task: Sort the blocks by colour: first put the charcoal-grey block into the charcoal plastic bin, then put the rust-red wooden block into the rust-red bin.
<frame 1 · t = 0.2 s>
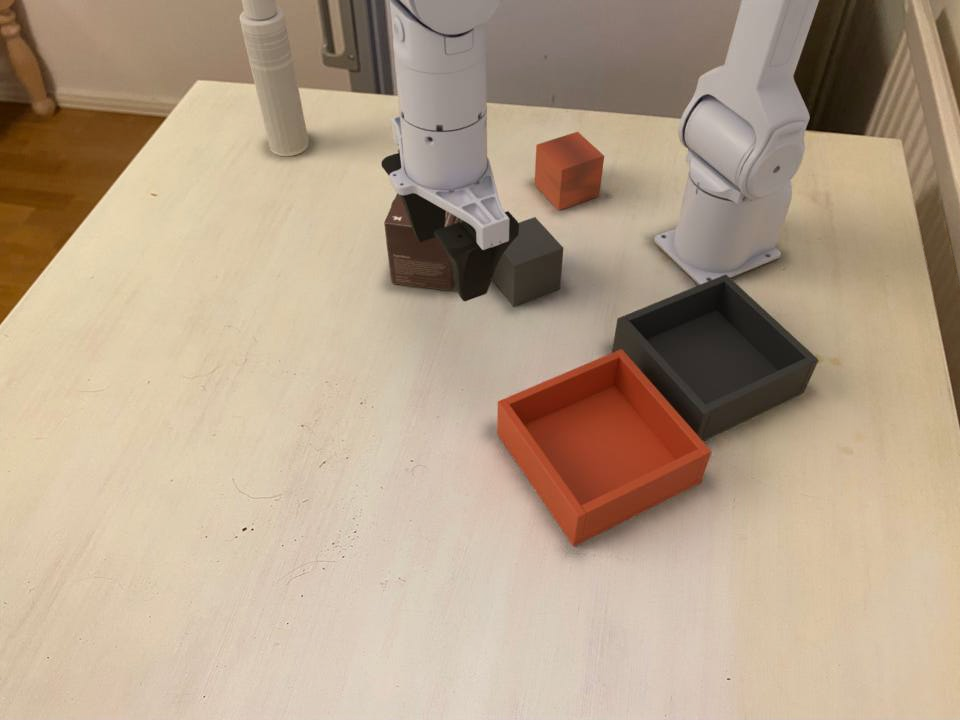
hand: (450, 264, 63), 10 cm above the table, tool pointing down, fingers open, 7 cm apart
charcoal bin: (705, 371, 69), on the table
rust bin: (596, 457, 63), on the table
red block: (566, 190, 86), on the table
box: (428, 269, 78), on the table
bottle: (289, 147, 92), on the table
grey block: (523, 281, 76), on the table
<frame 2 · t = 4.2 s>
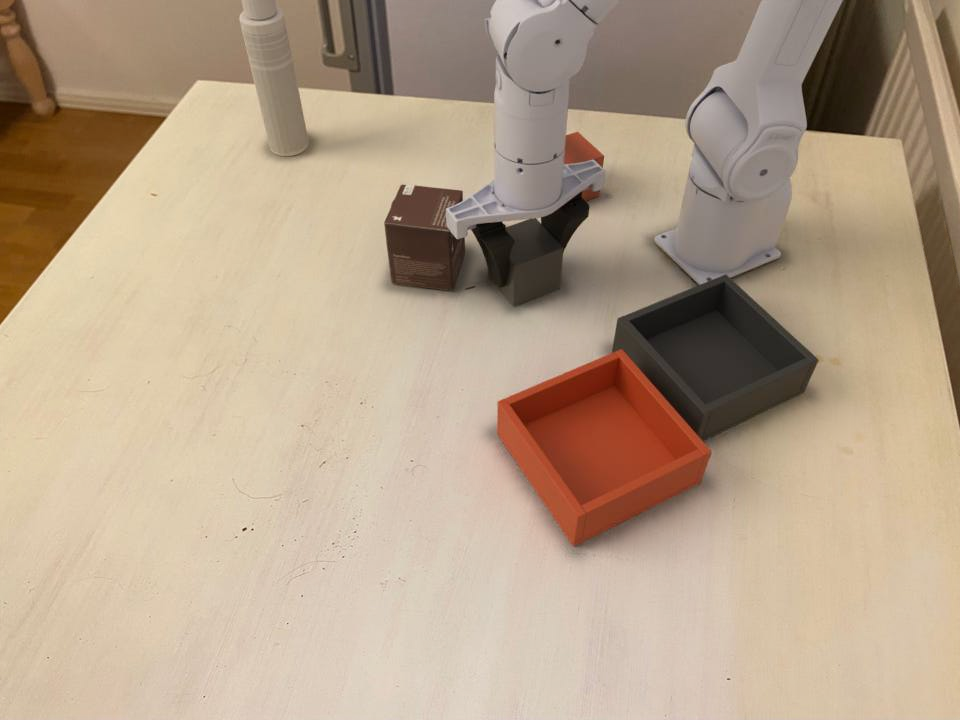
hand: (524, 270, 75), 1 cm above the table, tool pointing down, fingers closed on grey block, 5 cm apart
grey block: (523, 281, 76), on the table, touching gripper
everything else where it was.
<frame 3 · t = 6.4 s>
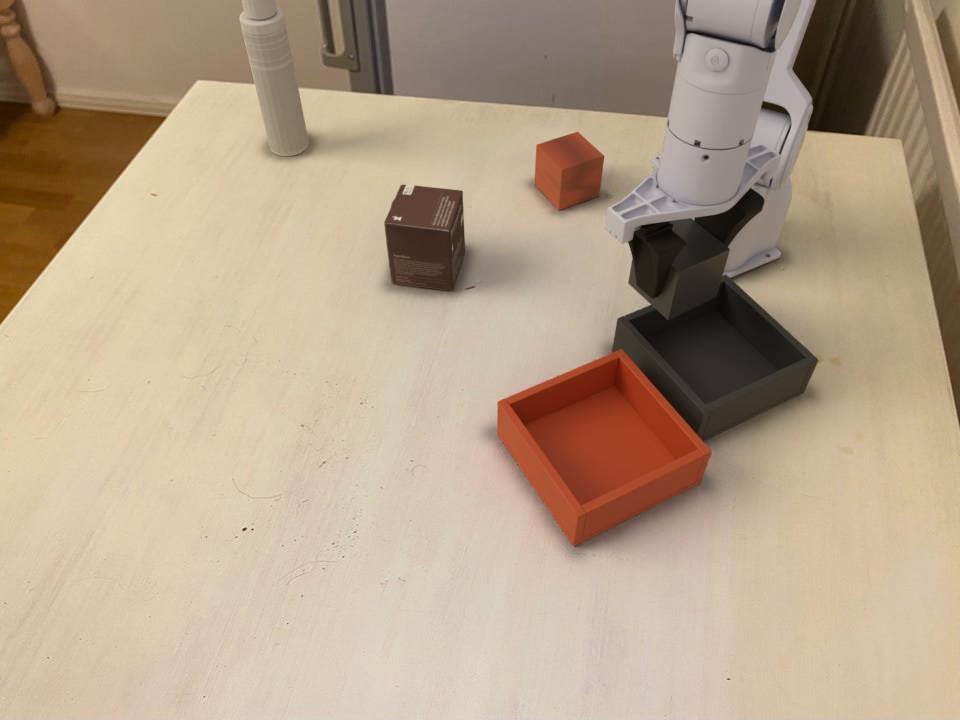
hand: (675, 276, 64), 8 cm above the table, tool pointing down, fingers closed on grey block, 5 cm apart
grey block: (671, 290, 65), point 7 cm above the table, touching gripper
everything else where it was.
when the fingers open (2 cm above the table, at t = 8.9 s): grey block stays where it is, resting on charcoal bin.
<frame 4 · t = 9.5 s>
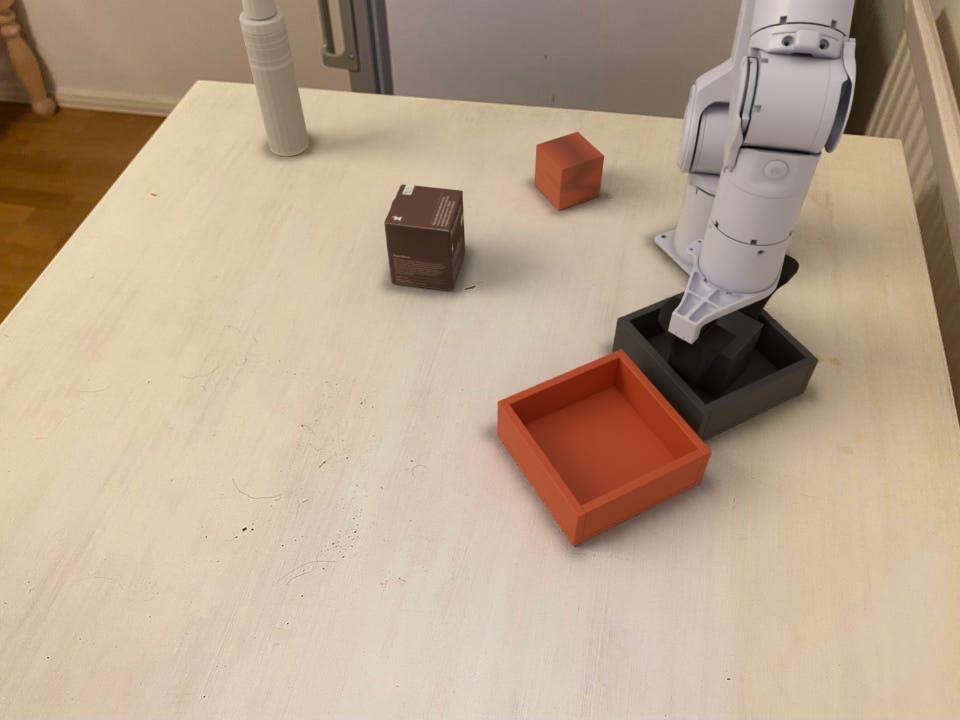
hand: (712, 350, 67), 3 cm above the table, tool pointing down, fingers open, 7 cm apart
grey block: (707, 367, 68), point 1 cm above the table, touching charcoal bin
everything else where it was.
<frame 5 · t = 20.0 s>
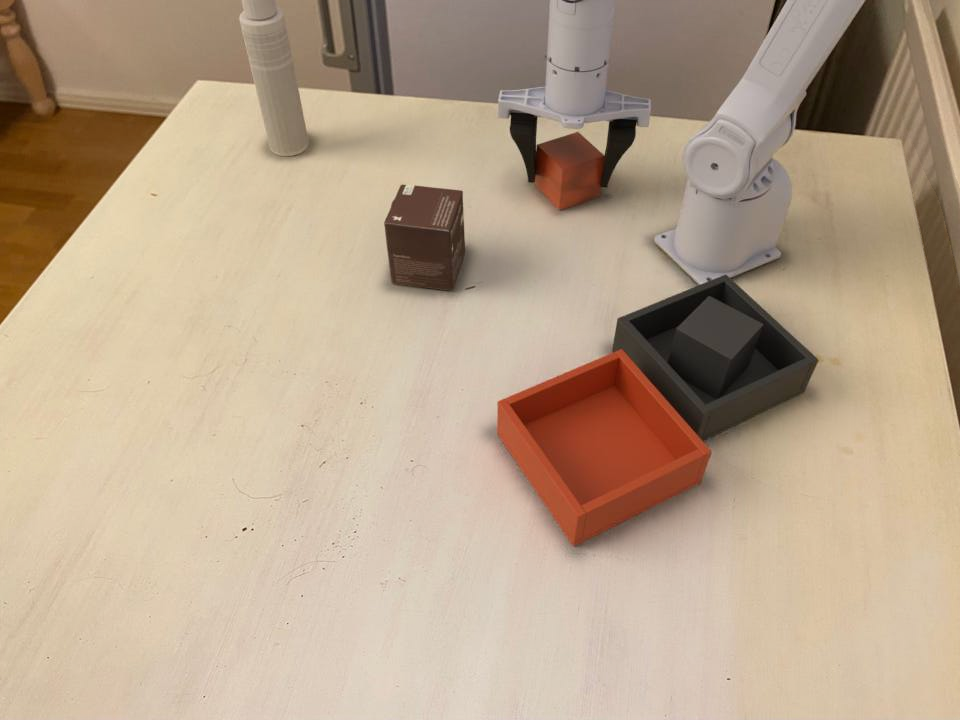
hand: (567, 179, 84), 1 cm above the table, tool pointing down, fingers closed on red block, 7 cm apart
red block: (566, 190, 86), on the table, touching gripper
everything else where it was.
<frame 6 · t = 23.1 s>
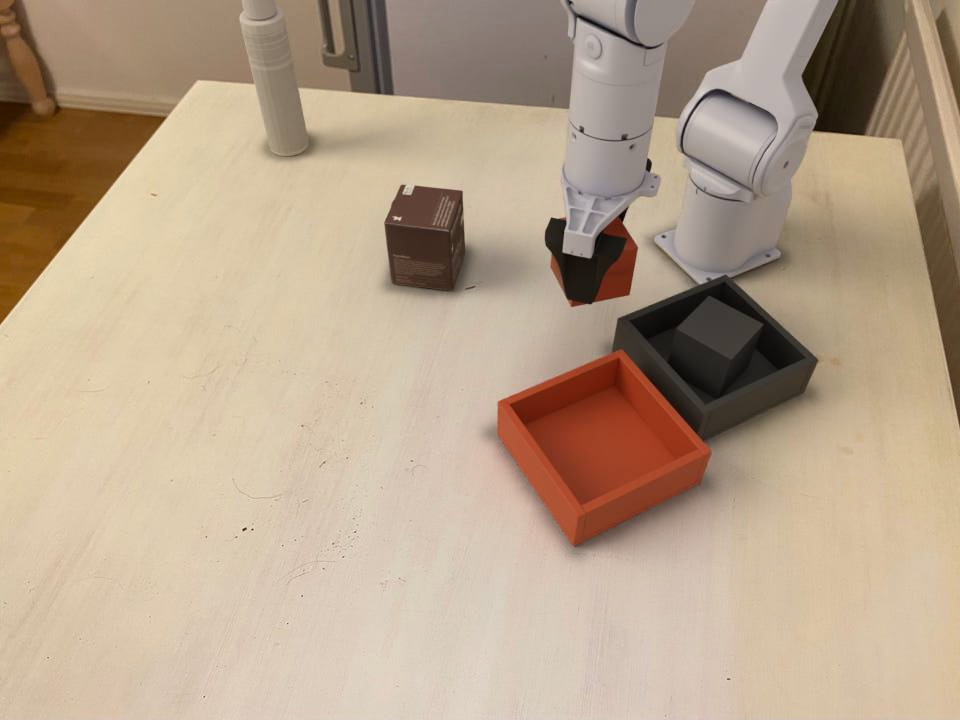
hand: (591, 268, 65), 8 cm above the table, tool pointing down, fingers closed on red block, 7 cm apart
red block: (589, 280, 66), point 7 cm above the table, touching gripper
everything else where it was.
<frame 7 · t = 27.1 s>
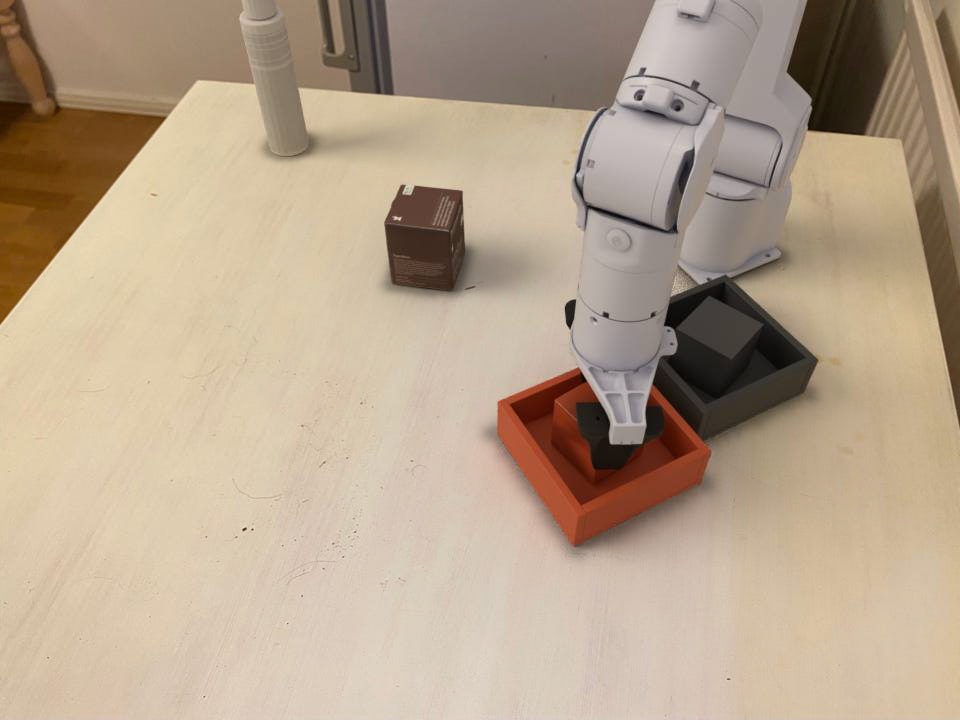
hand: (601, 422, 60), 4 cm above the table, tool pointing down
red block: (596, 448, 63), point 1 cm above the table, touching gripper
everything else where it was.
when the fingers open (4 cm above the table, at t = 27.1 s): red block stays where it is, resting on rust bin.
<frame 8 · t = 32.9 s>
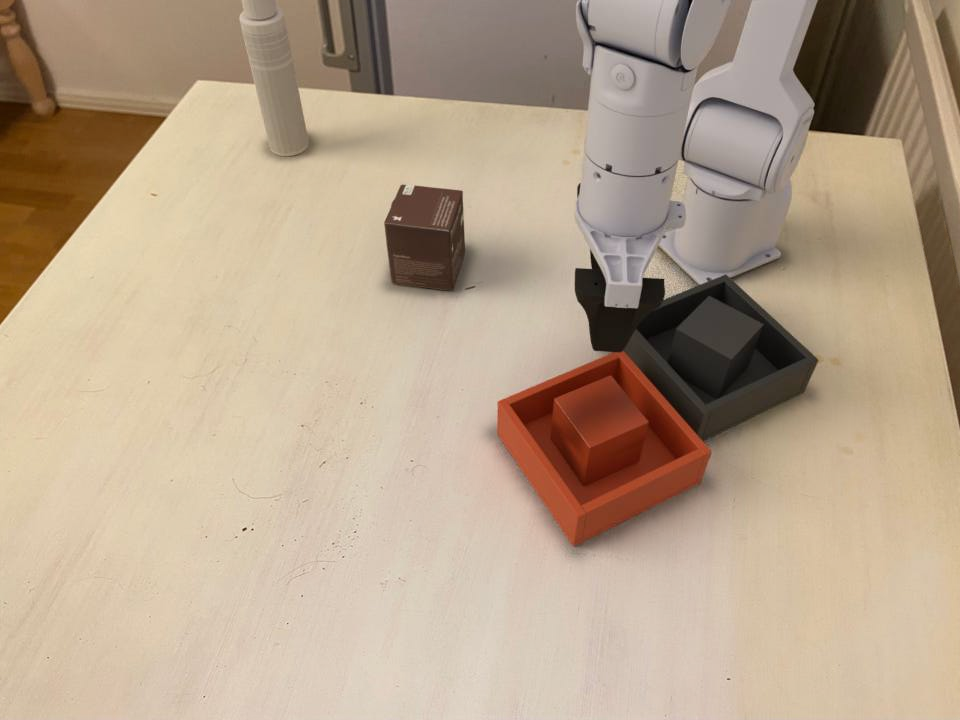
hand: (607, 309, 59), 10 cm above the table, tool pointing down, fingers open, 7 cm apart
red block: (594, 449, 63), point 1 cm above the table, touching rust bin
everything else where it was.
at the end: grey block inside the target area in the charcoal bin (0.1 cm from its centre), point 0.6 cm above the charcoal bin's base; red block inside the target area in the rust bin (0.4 cm from its centre), point 0.6 cm above the rust bin's base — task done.
